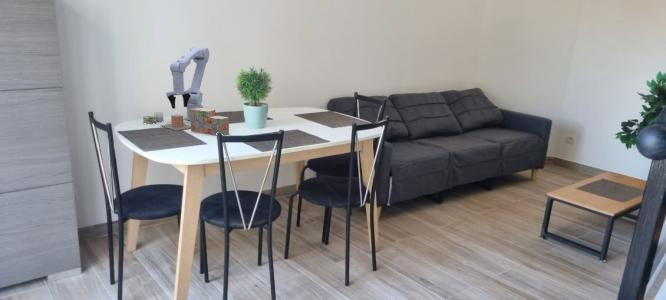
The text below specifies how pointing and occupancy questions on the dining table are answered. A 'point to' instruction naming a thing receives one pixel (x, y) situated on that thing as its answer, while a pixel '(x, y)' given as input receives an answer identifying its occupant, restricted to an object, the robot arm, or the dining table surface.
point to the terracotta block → (177, 120)
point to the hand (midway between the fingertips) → (179, 107)
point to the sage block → (149, 119)
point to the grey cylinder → (159, 116)
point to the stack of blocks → (208, 122)
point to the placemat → (177, 127)
